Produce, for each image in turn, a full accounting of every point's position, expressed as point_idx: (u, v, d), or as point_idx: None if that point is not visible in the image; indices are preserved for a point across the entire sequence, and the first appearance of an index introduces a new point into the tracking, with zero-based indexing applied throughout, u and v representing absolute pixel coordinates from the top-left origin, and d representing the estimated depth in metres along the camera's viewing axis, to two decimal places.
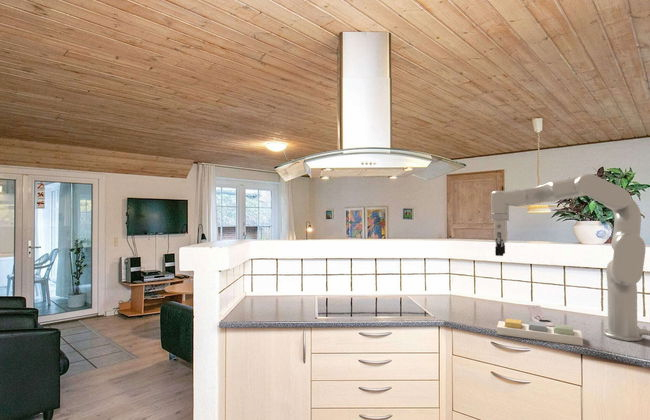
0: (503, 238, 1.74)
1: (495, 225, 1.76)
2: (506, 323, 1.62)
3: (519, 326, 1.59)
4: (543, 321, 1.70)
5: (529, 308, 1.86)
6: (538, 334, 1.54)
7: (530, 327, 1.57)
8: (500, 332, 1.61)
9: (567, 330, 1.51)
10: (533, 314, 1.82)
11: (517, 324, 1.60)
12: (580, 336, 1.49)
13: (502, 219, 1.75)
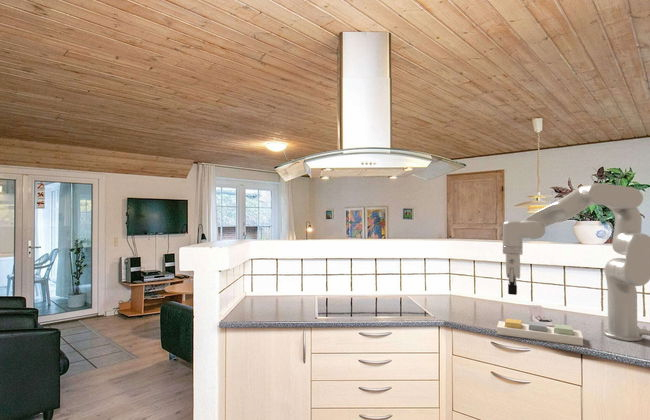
0: (516, 274, 1.58)
1: (507, 259, 1.60)
2: (506, 323, 1.62)
3: (519, 326, 1.59)
4: (543, 321, 1.70)
5: (530, 308, 1.86)
6: (538, 334, 1.54)
7: (530, 327, 1.57)
8: (500, 332, 1.61)
9: (567, 330, 1.51)
10: (534, 314, 1.82)
11: (517, 324, 1.60)
12: (580, 336, 1.49)
13: (515, 253, 1.59)
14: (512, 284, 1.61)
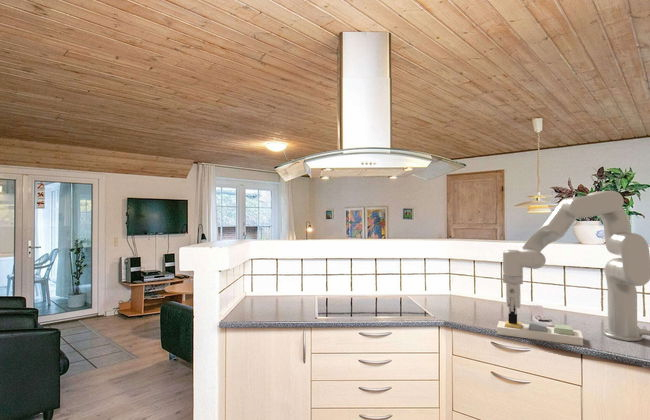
0: (516, 304, 1.58)
1: (508, 289, 1.60)
2: (506, 325, 1.62)
3: (519, 328, 1.59)
4: (542, 321, 1.70)
5: (531, 308, 1.86)
6: (538, 334, 1.54)
7: (530, 327, 1.57)
8: (500, 332, 1.61)
9: (567, 330, 1.51)
10: (534, 314, 1.82)
11: (517, 326, 1.60)
12: (580, 336, 1.49)
13: (515, 283, 1.59)
14: (512, 313, 1.61)
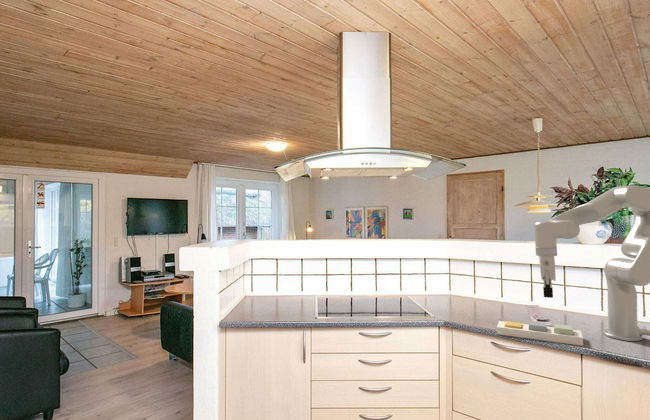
0: (552, 277, 1.52)
1: (542, 261, 1.54)
2: (506, 326, 1.62)
3: None
4: (541, 321, 1.70)
5: (528, 308, 1.86)
6: (538, 334, 1.54)
7: (530, 327, 1.57)
8: (500, 332, 1.61)
9: (567, 330, 1.51)
10: (532, 314, 1.83)
11: (517, 327, 1.60)
12: (580, 336, 1.49)
13: (550, 254, 1.54)
14: (548, 287, 1.56)
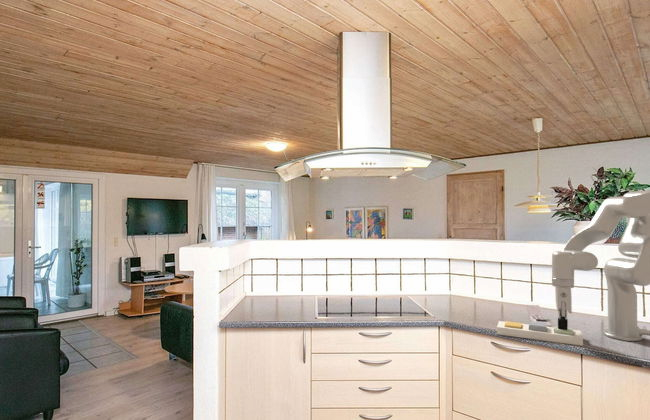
0: (568, 309, 1.49)
1: (558, 293, 1.51)
2: (506, 326, 1.62)
3: None
4: (540, 321, 1.70)
5: (528, 308, 1.87)
6: (538, 334, 1.54)
7: (530, 327, 1.57)
8: (500, 332, 1.61)
9: (567, 332, 1.51)
10: (531, 314, 1.83)
11: (517, 327, 1.60)
12: (580, 336, 1.49)
13: (567, 286, 1.51)
14: (563, 318, 1.53)
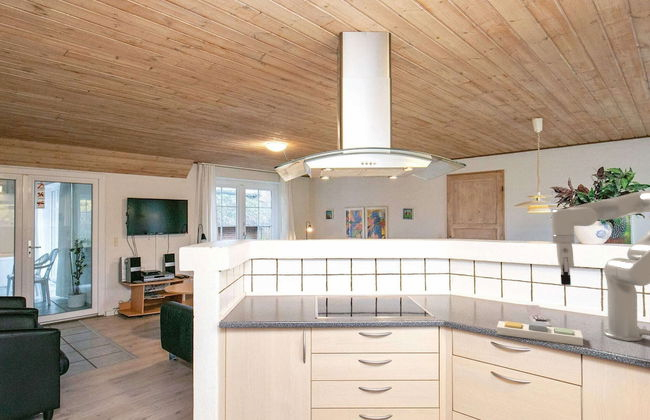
0: (571, 264, 1.52)
1: (560, 249, 1.54)
2: (506, 326, 1.62)
3: None
4: (540, 320, 1.70)
5: (528, 308, 1.87)
6: (538, 334, 1.54)
7: (530, 327, 1.57)
8: (500, 332, 1.61)
9: (567, 333, 1.51)
10: (531, 314, 1.83)
11: (517, 327, 1.60)
12: (580, 336, 1.49)
13: (568, 242, 1.53)
14: (566, 274, 1.55)
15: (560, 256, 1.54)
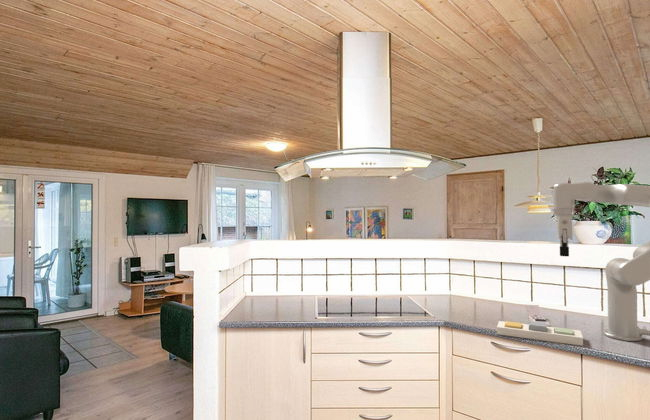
0: (569, 235, 1.58)
1: (560, 221, 1.60)
2: (506, 326, 1.62)
3: None
4: (539, 320, 1.71)
5: (527, 307, 1.87)
6: (538, 334, 1.54)
7: (530, 327, 1.57)
8: (500, 332, 1.61)
9: (567, 333, 1.51)
10: (531, 313, 1.83)
11: (517, 327, 1.60)
12: (580, 336, 1.49)
13: (568, 214, 1.60)
14: (564, 246, 1.62)
15: (559, 228, 1.60)
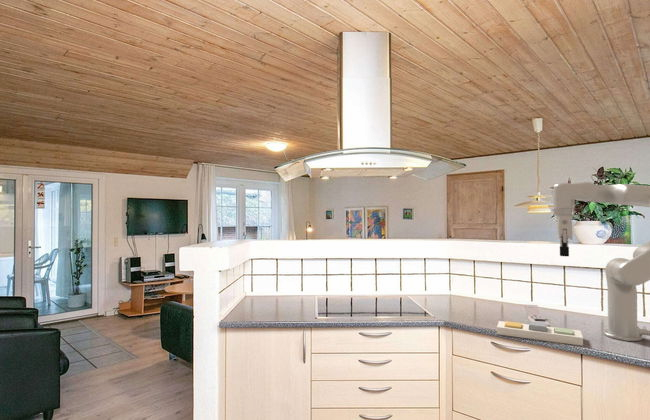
0: (569, 235, 1.58)
1: (560, 221, 1.60)
2: (506, 326, 1.62)
3: None
4: (538, 320, 1.71)
5: (526, 307, 1.87)
6: (538, 334, 1.54)
7: (530, 327, 1.57)
8: (500, 332, 1.61)
9: (567, 333, 1.51)
10: (530, 313, 1.83)
11: (517, 327, 1.60)
12: (580, 336, 1.49)
13: (568, 214, 1.60)
14: (564, 246, 1.62)
15: (559, 228, 1.60)
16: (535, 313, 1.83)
